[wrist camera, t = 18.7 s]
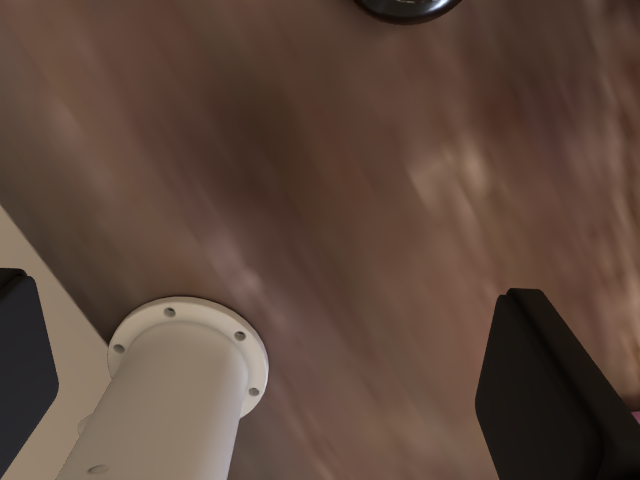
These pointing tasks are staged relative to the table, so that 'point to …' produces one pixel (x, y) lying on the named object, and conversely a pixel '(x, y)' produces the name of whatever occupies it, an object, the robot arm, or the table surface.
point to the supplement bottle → (405, 10)
